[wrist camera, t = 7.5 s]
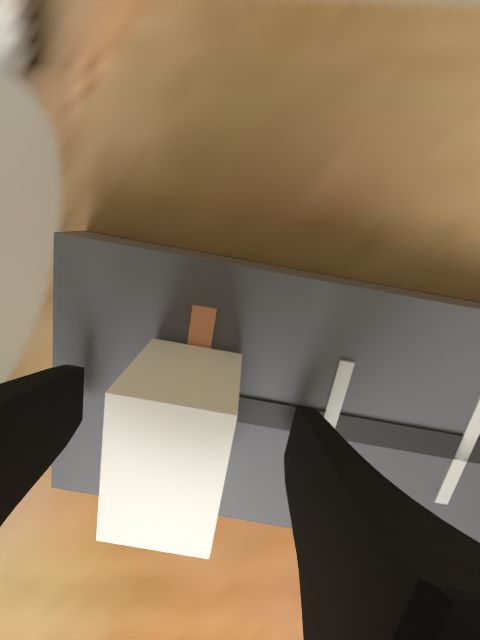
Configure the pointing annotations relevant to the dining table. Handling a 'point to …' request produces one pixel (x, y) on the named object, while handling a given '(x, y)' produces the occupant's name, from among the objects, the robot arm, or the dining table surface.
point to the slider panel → (280, 366)
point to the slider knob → (168, 448)
